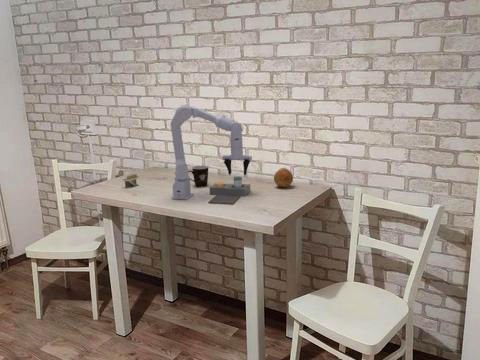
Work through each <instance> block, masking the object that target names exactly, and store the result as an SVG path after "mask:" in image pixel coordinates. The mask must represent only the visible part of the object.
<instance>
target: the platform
mask: <svg viewBox="0 0 480 360" xmlns="http://www.w3.org/2000/svg"><path fill="white" fill-rule="evenodd" d="M138 179H140V177H139V176H138V175H137V173H136V174H135V173H134V174H129V175H127V176H126V178H124V179H121V180H122V182H124V185H125V187H124V188H125V189H128V188H131V187H134V186H133V185H135V187H137V186H138V185H137V184H138V182H137V180H138ZM136 185H137V186H136ZM130 186H131V187H130ZM127 187H128V188H127Z"/></svg>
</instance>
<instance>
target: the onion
mask: <svg viewBox="0 0 480 360" xmlns="http://www.w3.org/2000/svg"><path fill="white" fill-rule="evenodd" d="M293 175H294V174H292V171H290V169H288V168H286V167H281V168H279V169H278V170H276V172H275V173H274V175H273V181H274V183H275V184H276V186H278V187H280V188H282V189H283V188H288V187H289V186H291V185H292V183H293V181H294V176H293Z"/></svg>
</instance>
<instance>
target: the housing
mask: <svg viewBox="0 0 480 360" xmlns="http://www.w3.org/2000/svg"><path fill="white" fill-rule="evenodd" d="M217 183H218V182H215V183H213V184H212V185H211V186H209V195H214V196H216V195H226V196H240V197H246V196H247V195H248V194H249V193H250V192H251V184H250V183H242V188H234V183H224V187H217Z"/></svg>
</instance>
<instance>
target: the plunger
mask: <svg viewBox="0 0 480 360" xmlns="http://www.w3.org/2000/svg"><path fill="white" fill-rule="evenodd" d="M216 183H217V187H224V184H225V183H224V182H216Z"/></svg>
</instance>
